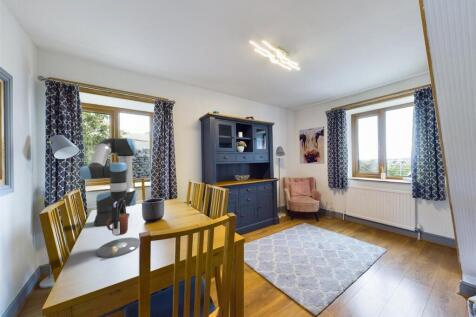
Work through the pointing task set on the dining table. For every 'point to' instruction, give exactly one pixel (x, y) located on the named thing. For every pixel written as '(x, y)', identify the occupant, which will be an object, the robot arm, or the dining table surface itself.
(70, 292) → the dining table surface
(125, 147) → the robot arm
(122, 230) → the mug
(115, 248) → the seat disc
